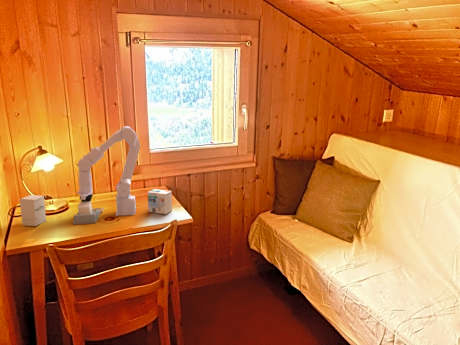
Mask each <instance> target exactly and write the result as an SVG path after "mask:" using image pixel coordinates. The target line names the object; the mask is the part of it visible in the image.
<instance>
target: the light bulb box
mask: <svg viewBox="0 0 460 345" xmlns="http://www.w3.org/2000/svg"><path fill="white" fill-rule="evenodd" d="M172 192H173V191H172V190H167V189H166V190H165V189H157V188H153V189H151V190H149V191H148V192H147V208H148V209H147V210H148V213H149V212H150V213H154V214H155V213H157V214H163V215H167V214H169V213H170V212H172V211H173V203H172V202H173V200H172V199H173V198H172V197H173V196H172V194H173V193H172Z"/></svg>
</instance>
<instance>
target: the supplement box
mask: <svg viewBox="0 0 460 345" xmlns="http://www.w3.org/2000/svg"><path fill="white" fill-rule="evenodd" d="M19 205H20V213H21V214H20V215H21V216H20V217H21V223H22V224H21V225H23V226H29V227H30V226H31V227H37V226H39V225H40V224H42V223H45V222H47V216H46V214H47V213H46V204H45V196H44V195H35V194H30V195H28V196H24V197H22V198H19Z"/></svg>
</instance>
